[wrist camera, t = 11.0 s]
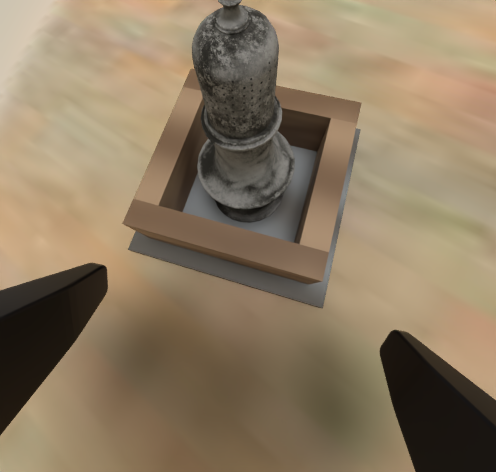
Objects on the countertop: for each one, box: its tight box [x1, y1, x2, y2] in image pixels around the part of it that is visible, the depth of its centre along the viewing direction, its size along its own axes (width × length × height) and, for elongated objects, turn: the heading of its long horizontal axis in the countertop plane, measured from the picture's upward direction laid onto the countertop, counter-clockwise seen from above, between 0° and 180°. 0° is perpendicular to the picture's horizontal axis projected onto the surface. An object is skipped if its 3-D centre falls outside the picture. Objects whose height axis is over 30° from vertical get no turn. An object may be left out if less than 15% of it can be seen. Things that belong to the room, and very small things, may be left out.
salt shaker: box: [192, 0, 295, 223], centre depth 12 cm, size 6×6×12 cm
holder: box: [122, 69, 361, 308], centre depth 16 cm, size 14×14×4 cm
